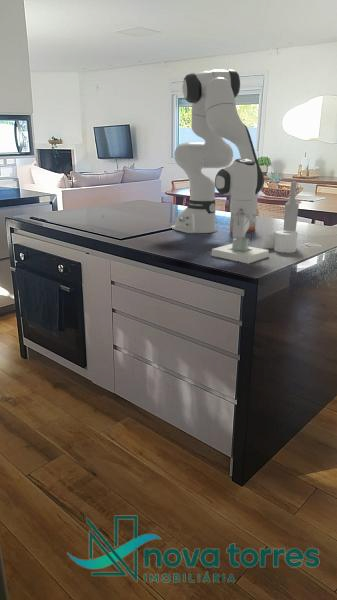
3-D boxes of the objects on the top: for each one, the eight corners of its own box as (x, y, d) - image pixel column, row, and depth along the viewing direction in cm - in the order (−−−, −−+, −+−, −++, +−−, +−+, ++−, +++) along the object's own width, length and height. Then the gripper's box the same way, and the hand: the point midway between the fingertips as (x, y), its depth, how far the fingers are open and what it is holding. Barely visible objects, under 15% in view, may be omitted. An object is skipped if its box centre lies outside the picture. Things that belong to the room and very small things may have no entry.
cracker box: (240, 234, 200) (243, 186, 193) (229, 232, 204) (231, 185, 197) (256, 230, 210) (259, 184, 203) (245, 228, 214) (247, 183, 207)
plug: (231, 255, 162) (232, 239, 160) (234, 253, 166) (235, 237, 164) (245, 257, 160) (246, 240, 158) (248, 254, 164) (249, 238, 162)
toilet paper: (263, 248, 175) (264, 231, 173) (290, 247, 177) (291, 230, 175) (271, 253, 167) (273, 235, 165) (299, 252, 170) (301, 234, 167)
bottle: (289, 247, 176) (295, 182, 168) (278, 245, 180) (284, 181, 172) (297, 245, 179) (304, 181, 171) (287, 243, 183) (293, 180, 175)
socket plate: (211, 255, 164) (211, 249, 163) (232, 249, 173) (232, 243, 172) (248, 263, 153) (248, 256, 153) (268, 256, 162) (268, 250, 161)
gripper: (248, 212, 147) (245, 253, 152) (254, 203, 165) (252, 240, 170) (229, 211, 148) (227, 251, 153) (237, 203, 167) (235, 239, 172)
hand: (240, 245), depth 162 cm, fingers open, 8 cm apart
